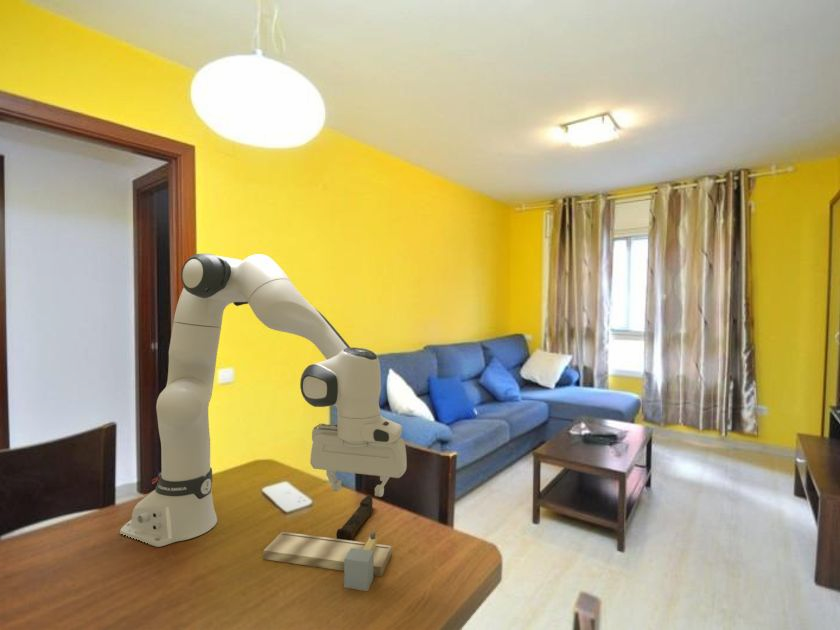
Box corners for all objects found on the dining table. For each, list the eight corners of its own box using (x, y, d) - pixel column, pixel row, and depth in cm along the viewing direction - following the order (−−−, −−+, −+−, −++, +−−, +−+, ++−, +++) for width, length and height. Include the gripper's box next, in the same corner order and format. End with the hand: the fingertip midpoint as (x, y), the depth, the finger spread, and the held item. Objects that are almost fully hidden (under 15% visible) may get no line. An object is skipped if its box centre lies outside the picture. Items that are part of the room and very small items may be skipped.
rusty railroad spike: (350, 547, 101) (350, 528, 101) (335, 543, 102) (335, 525, 102) (380, 510, 119) (380, 494, 119) (367, 508, 120) (368, 492, 120)
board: (263, 558, 95) (263, 549, 95) (281, 539, 103) (281, 531, 103) (381, 576, 90) (381, 566, 90) (391, 554, 98) (391, 545, 98)
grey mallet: (344, 587, 86) (344, 558, 86) (363, 553, 98) (363, 528, 98) (367, 591, 85) (367, 562, 85) (383, 556, 97) (384, 530, 97)
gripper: (305, 426, 86) (304, 493, 86) (401, 435, 82) (400, 505, 82) (319, 418, 92) (317, 481, 92) (409, 426, 88) (407, 491, 88)
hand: (357, 492), depth 87 cm, fingers open, 8 cm apart
